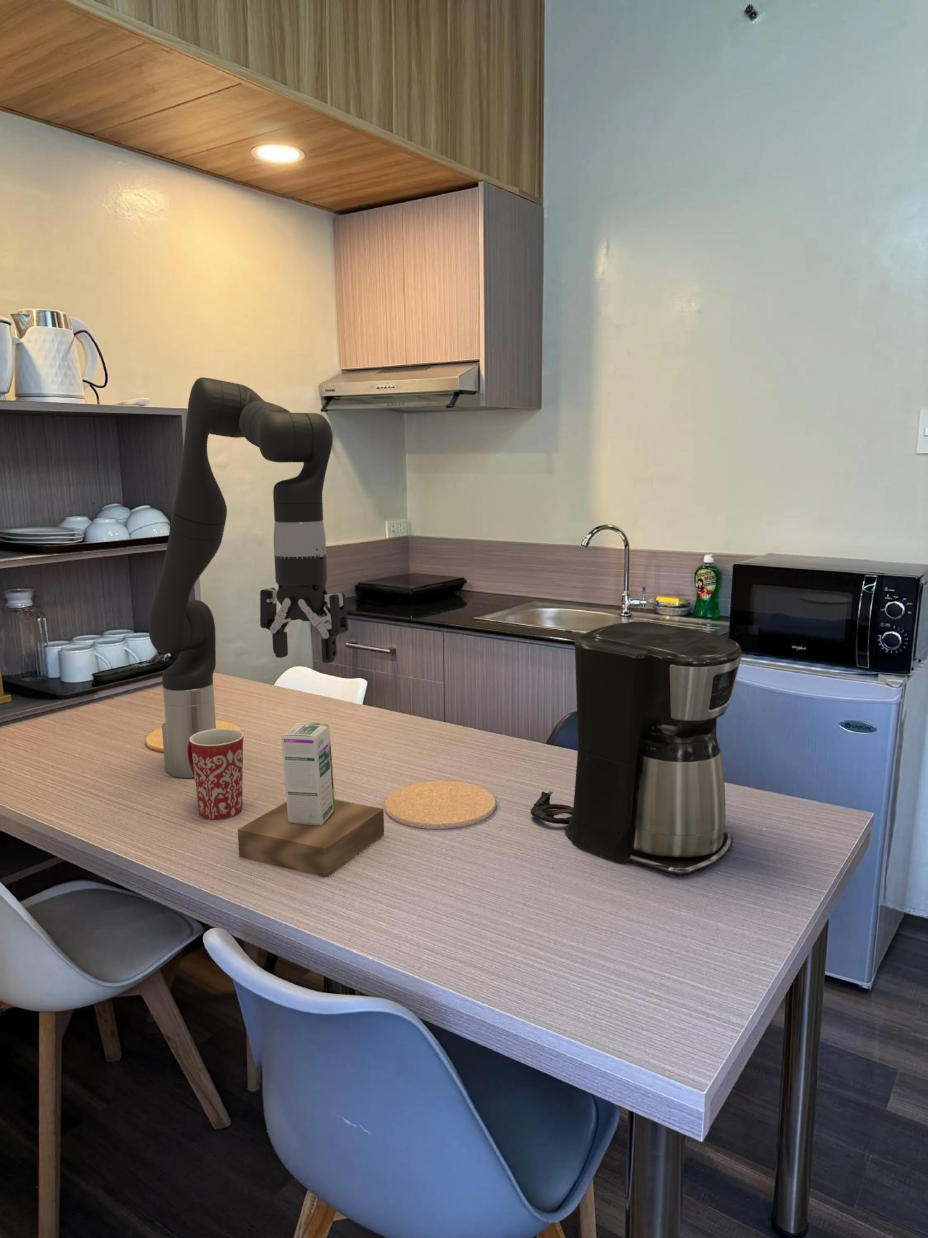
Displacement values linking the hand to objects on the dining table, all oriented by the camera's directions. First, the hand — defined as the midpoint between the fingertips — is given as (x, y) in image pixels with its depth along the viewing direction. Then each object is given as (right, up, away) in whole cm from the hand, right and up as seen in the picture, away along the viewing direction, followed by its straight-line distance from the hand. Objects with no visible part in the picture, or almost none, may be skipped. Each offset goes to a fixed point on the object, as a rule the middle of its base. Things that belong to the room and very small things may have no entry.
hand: (304, 659), depth 130 cm
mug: (-19, -27, +20) cm, 39 cm away
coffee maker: (+52, -28, +9) cm, 60 cm away
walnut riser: (0, -30, +5) cm, 30 cm away
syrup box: (0, -25, +5) cm, 25 cm away
